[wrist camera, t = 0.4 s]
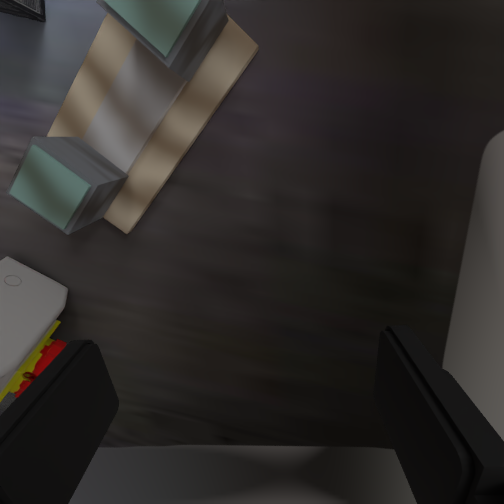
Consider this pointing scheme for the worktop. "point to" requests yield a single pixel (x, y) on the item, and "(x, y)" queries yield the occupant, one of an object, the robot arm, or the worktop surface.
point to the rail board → (132, 111)
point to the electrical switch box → (27, 324)
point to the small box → (24, 8)
